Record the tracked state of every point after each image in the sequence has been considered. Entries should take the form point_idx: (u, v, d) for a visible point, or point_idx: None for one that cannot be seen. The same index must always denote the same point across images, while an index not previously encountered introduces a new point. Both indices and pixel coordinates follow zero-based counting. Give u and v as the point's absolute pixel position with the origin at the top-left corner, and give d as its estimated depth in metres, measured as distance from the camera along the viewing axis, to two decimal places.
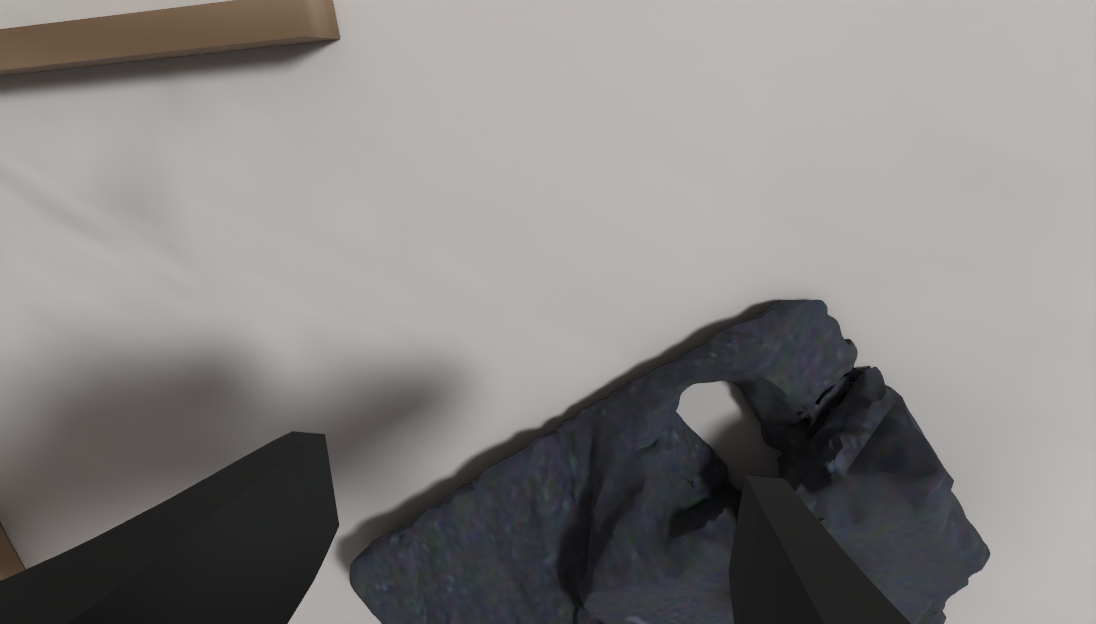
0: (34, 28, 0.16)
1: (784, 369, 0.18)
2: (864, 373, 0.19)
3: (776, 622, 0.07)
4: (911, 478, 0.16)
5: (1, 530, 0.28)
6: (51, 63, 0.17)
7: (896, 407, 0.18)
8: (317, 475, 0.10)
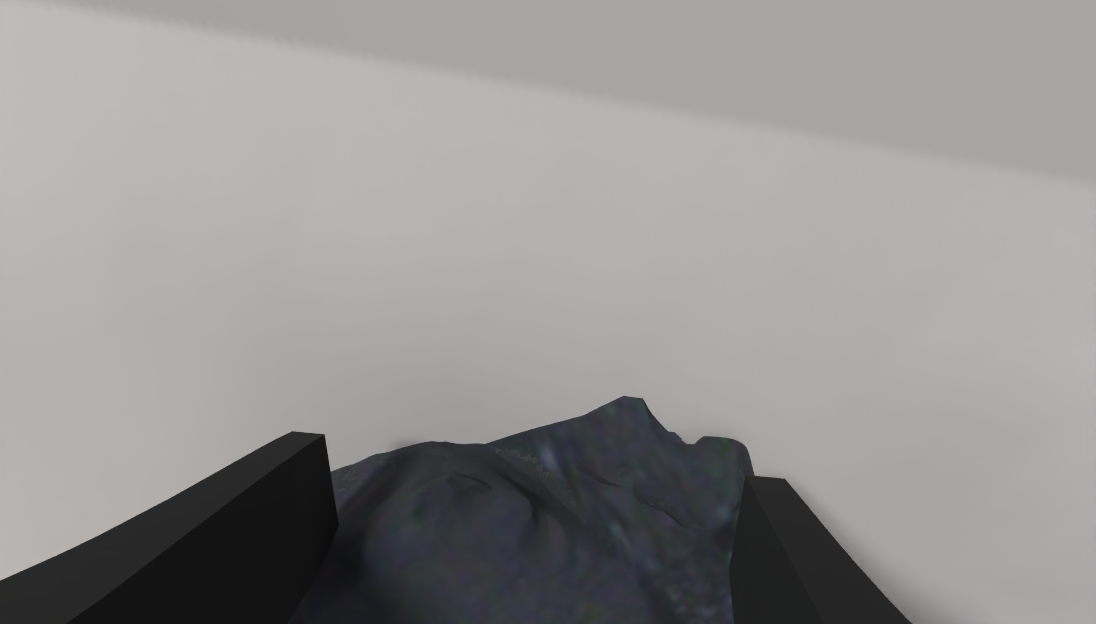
0: None
1: None
2: None
3: (776, 622, 0.07)
4: None
5: None
6: None
7: None
8: (317, 475, 0.10)
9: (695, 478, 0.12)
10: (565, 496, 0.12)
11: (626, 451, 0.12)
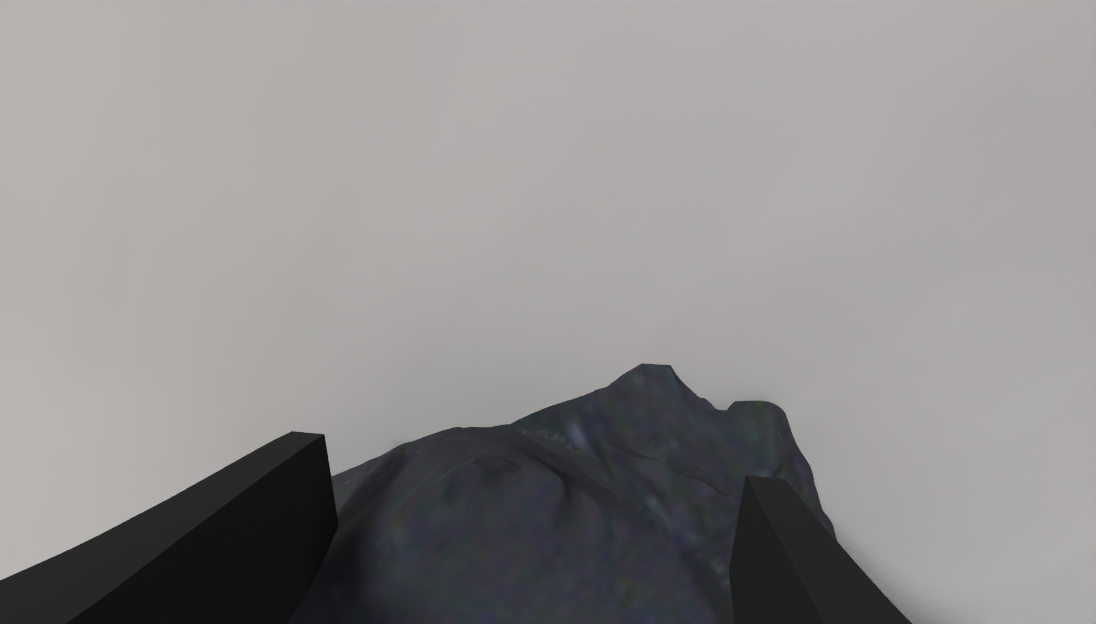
0: None
1: None
2: None
3: (776, 622, 0.07)
4: None
5: None
6: None
7: None
8: (317, 475, 0.10)
9: (731, 444, 0.11)
10: (597, 473, 0.12)
11: (658, 422, 0.11)
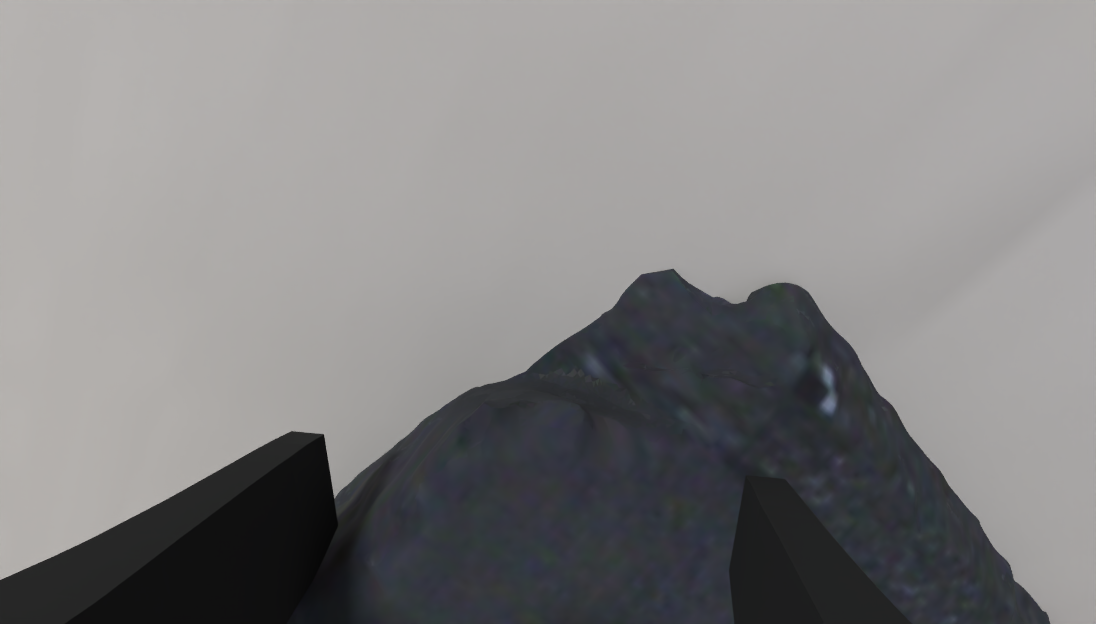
0: None
1: None
2: None
3: (776, 622, 0.07)
4: None
5: None
6: None
7: None
8: (316, 475, 0.10)
9: (755, 335, 0.10)
10: (622, 398, 0.11)
11: (673, 331, 0.11)
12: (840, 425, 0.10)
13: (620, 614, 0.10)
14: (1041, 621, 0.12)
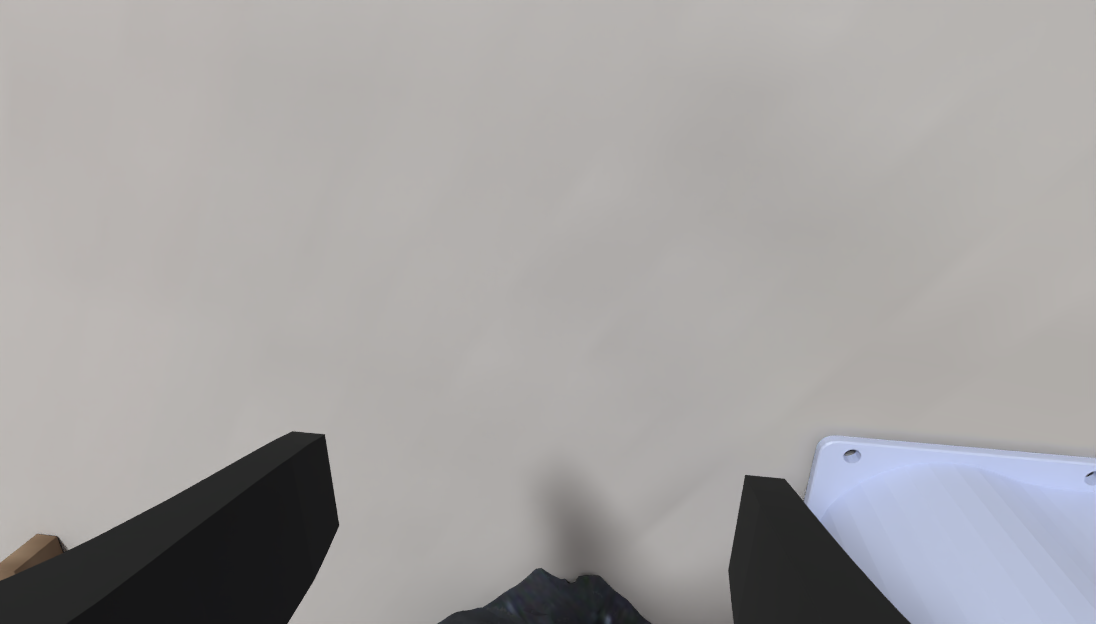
0: None
1: None
2: None
3: (776, 622, 0.07)
4: None
5: None
6: None
7: None
8: (317, 475, 0.10)
9: (576, 601, 0.23)
10: None
11: (543, 595, 0.23)
12: None
13: None
14: None
